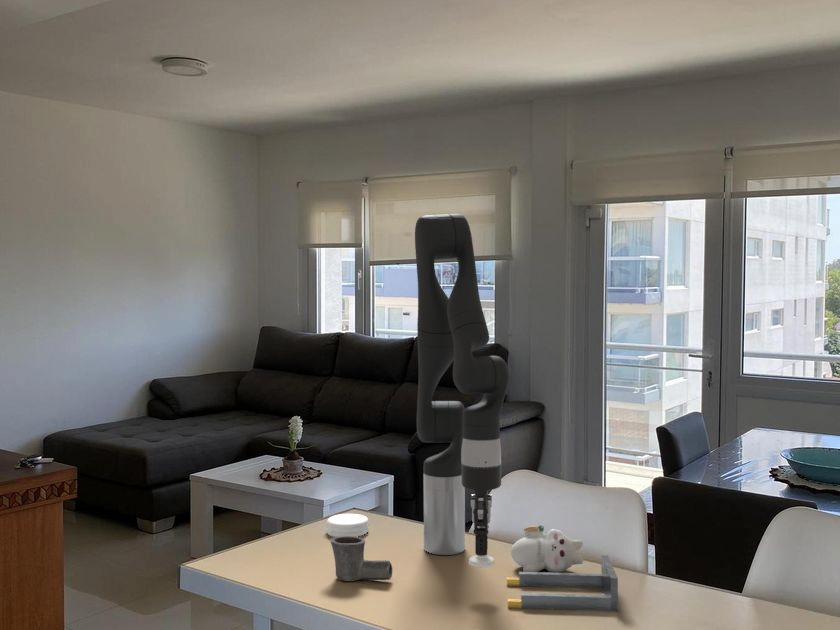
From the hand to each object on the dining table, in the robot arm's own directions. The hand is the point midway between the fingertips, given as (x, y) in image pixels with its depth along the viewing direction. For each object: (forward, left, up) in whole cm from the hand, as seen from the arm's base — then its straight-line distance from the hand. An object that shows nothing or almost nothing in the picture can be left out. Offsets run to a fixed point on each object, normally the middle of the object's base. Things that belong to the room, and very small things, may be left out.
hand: (481, 552), depth 149 cm
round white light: (-37, -33, -9) cm, 50 cm away
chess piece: (0, 0, -2) cm, 2 cm away
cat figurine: (-14, +13, -8) cm, 21 cm away
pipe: (-6, -24, -9) cm, 27 cm away
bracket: (0, +15, -8) cm, 17 cm away
